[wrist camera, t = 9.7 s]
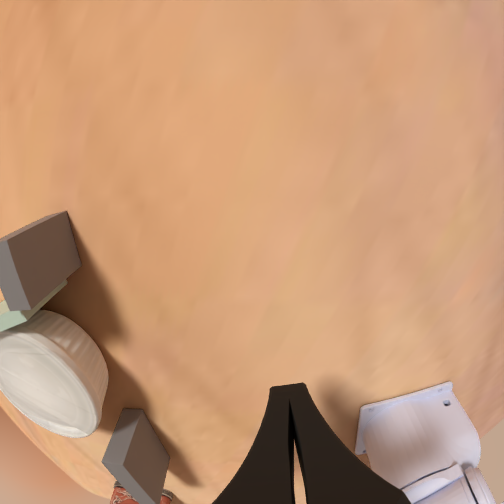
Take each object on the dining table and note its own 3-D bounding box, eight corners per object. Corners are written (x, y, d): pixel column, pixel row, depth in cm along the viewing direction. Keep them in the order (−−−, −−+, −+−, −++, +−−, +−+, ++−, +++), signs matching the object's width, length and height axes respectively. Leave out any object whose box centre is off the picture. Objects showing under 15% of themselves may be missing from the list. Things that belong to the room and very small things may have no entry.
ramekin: (44, 393, 25) (22, 427, 20) (-1, 298, 21) (-35, 326, 16) (136, 404, 25) (120, 448, 20) (94, 294, 21) (60, 333, 16)
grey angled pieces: (66, 210, 19) (6, 240, 13) (170, 457, 27) (159, 507, 21) (45, 216, 19) (-14, 246, 13) (152, 456, 27) (140, 504, 21)
